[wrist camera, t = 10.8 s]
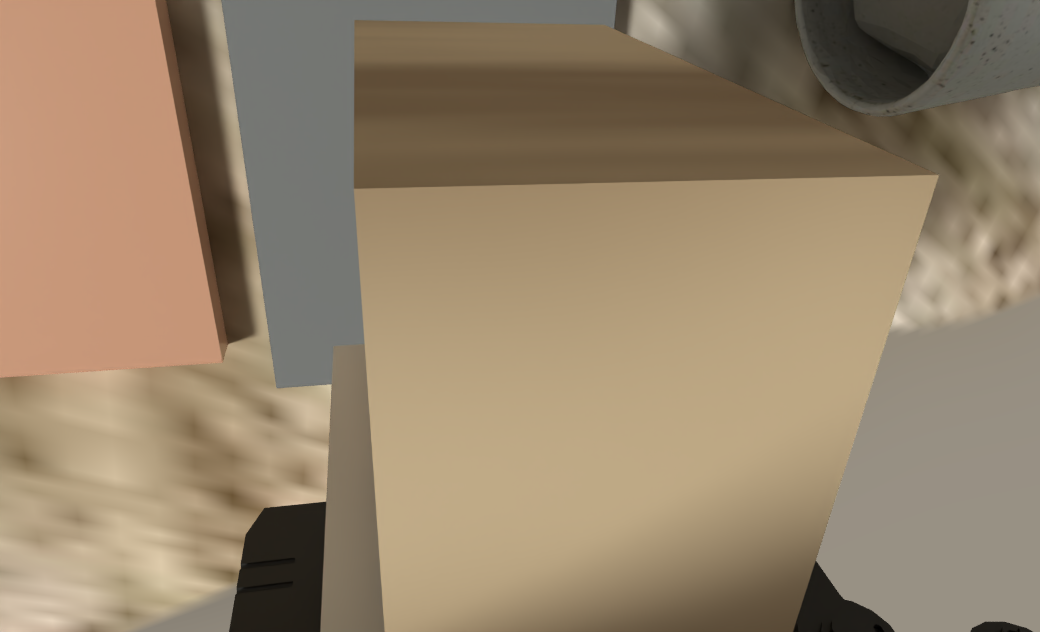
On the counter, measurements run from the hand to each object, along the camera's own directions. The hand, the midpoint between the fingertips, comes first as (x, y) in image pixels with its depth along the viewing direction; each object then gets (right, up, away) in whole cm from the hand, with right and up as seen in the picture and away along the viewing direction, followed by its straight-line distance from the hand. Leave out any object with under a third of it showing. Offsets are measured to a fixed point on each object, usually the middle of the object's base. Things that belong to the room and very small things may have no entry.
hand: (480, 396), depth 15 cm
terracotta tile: (-14, +11, +4) cm, 18 cm away
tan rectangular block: (0, +1, 0) cm, 1 cm away
